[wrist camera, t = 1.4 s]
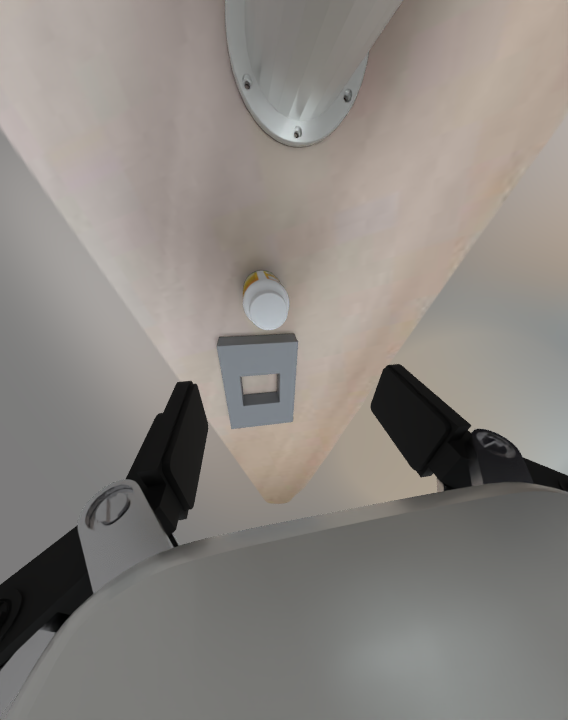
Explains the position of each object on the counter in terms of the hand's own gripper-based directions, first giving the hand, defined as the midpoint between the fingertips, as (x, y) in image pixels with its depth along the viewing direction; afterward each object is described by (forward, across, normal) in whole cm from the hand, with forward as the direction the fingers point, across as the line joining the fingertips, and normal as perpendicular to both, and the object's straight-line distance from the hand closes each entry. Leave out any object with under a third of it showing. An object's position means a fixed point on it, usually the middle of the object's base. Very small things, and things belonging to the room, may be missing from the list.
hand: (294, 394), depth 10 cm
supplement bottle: (+22, 0, 0) cm, 22 cm away
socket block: (+22, +1, +16) cm, 27 cm away
